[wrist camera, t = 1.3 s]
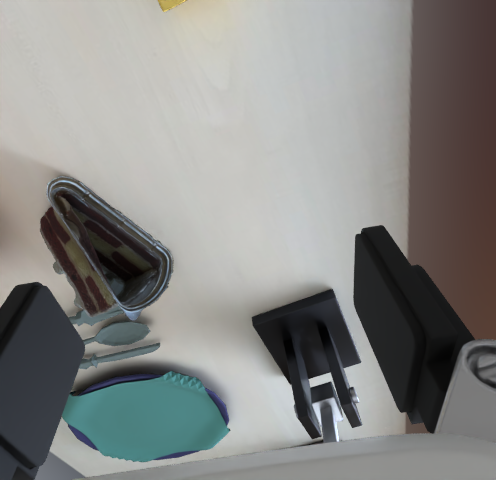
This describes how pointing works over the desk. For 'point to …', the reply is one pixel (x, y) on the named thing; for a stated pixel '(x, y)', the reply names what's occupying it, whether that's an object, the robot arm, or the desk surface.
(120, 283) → the chocolate cake
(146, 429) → the cutlery set
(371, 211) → the desk surface
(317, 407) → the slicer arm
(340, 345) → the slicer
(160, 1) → the butter
